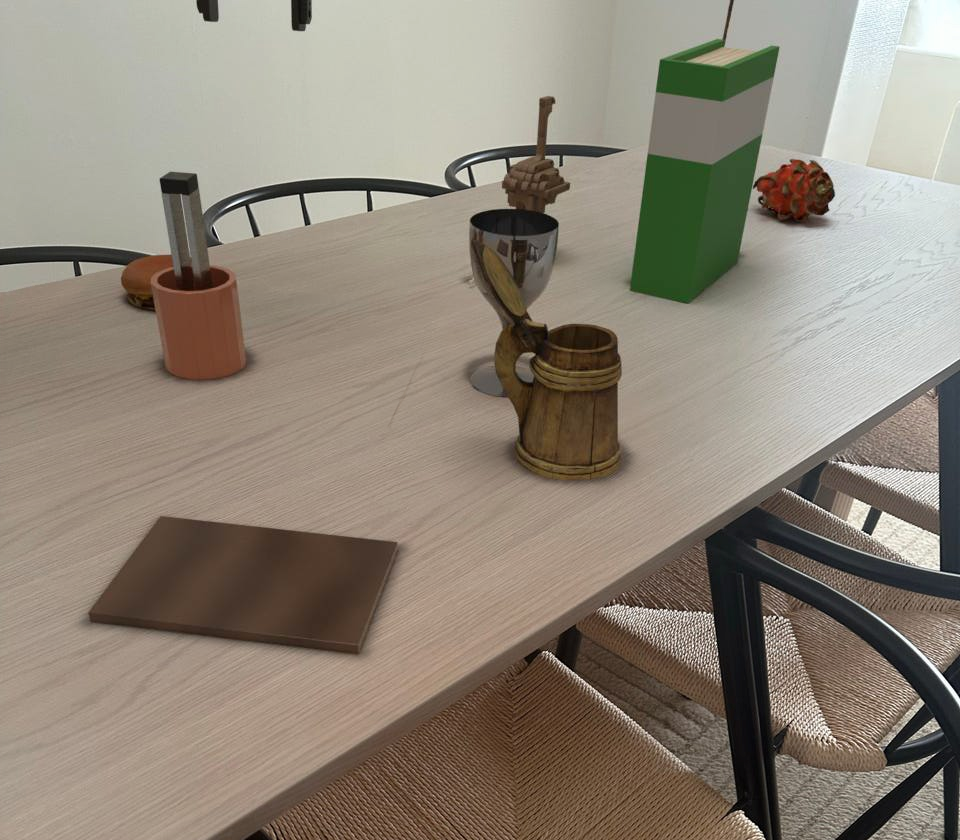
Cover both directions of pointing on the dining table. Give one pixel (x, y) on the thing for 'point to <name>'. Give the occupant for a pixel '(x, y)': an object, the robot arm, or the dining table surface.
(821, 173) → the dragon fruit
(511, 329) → the wooden mug
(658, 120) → the hardback book
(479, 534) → the dining table surface
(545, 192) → the ostrich figurine
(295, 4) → the robot arm
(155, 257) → the burger
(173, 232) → the tongs
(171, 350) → the holder
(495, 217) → the wine glass
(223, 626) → the board
